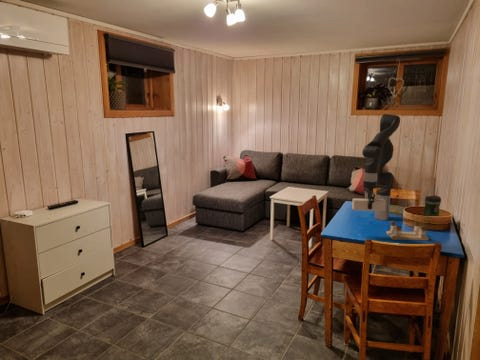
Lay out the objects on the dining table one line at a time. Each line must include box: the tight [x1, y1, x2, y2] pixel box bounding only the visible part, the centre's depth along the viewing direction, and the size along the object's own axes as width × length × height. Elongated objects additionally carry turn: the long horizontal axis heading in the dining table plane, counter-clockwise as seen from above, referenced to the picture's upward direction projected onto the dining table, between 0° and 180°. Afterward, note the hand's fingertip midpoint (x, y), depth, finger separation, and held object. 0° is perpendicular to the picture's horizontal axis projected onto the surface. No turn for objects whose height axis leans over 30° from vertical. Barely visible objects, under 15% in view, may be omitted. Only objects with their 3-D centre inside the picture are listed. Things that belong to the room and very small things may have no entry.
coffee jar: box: [423, 195, 442, 217], centre depth 230 cm, size 10×8×19 cm
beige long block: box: [351, 197, 386, 212], centre depth 204 cm, size 5×18×6 cm, turn 83°
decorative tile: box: [389, 204, 406, 217], centre depth 258 cm, size 19×20×4 cm
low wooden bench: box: [386, 220, 430, 241], centre depth 203 cm, size 11×20×8 cm, turn 87°
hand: (368, 207), depth 205 cm, fingers closed on beige long block, 5 cm apart
